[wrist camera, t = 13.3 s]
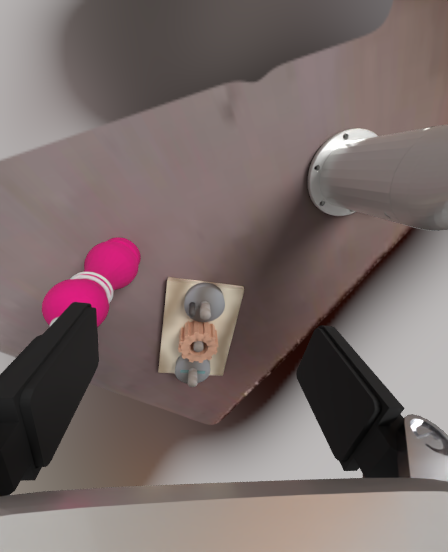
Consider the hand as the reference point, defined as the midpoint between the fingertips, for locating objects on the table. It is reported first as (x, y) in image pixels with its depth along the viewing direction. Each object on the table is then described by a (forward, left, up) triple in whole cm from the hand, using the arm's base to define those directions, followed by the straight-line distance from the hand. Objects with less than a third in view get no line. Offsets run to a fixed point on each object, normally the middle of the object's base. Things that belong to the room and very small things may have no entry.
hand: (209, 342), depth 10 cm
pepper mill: (+12, +9, -31) cm, 34 cm away
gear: (-3, +23, -29) cm, 37 cm away
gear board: (-3, +23, -30) cm, 38 cm away
